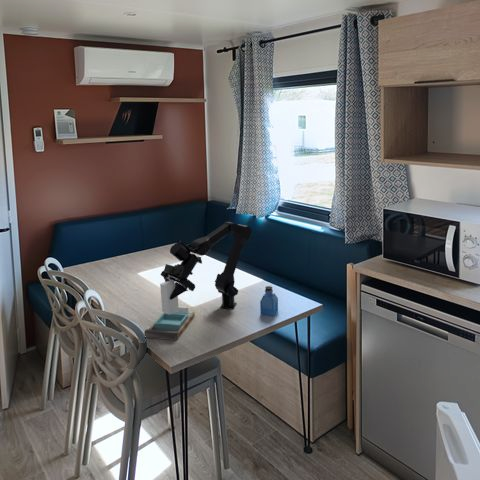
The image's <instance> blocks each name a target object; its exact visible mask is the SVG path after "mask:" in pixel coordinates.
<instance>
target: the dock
mask: <svg viewBox="0 0 480 480" xmlns="http://www.w3.org/2000/svg"><path fill="white" fill-rule="evenodd" d="M163 313H165V312H163ZM190 313H191V315H190V316H189V317H188V319H187V320H186V321H185V323H184V324H183V325H182V326H181V328H180V329H179V330H178V331H167V330H154V323H155V322H156V321H157V319H156V320H155V321H154V323H153V324H152V325H151V326H150V327H149V328H147V329H145V330H144V337H145V336H146V338H145V339H156V340H168V341H169V340H171V341H172V340H173V341H178V340H179V339H180V337H181V336H182V335H183V333H184V332H185V331H186V329H187V328H188V327H189V326H190V324H191V323H192V321H193V320H194V318H195V317H196V315H195V312H194V311H192V312H190Z"/></svg>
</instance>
